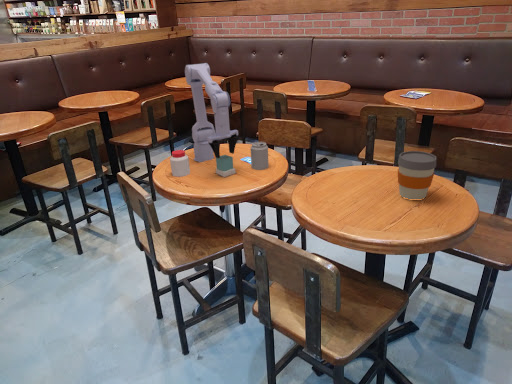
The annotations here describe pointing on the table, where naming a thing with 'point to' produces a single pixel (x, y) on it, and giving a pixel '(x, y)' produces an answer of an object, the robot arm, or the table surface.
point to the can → (259, 156)
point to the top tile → (226, 172)
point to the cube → (224, 163)
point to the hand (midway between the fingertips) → (224, 155)
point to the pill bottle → (179, 163)
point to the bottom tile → (226, 176)
